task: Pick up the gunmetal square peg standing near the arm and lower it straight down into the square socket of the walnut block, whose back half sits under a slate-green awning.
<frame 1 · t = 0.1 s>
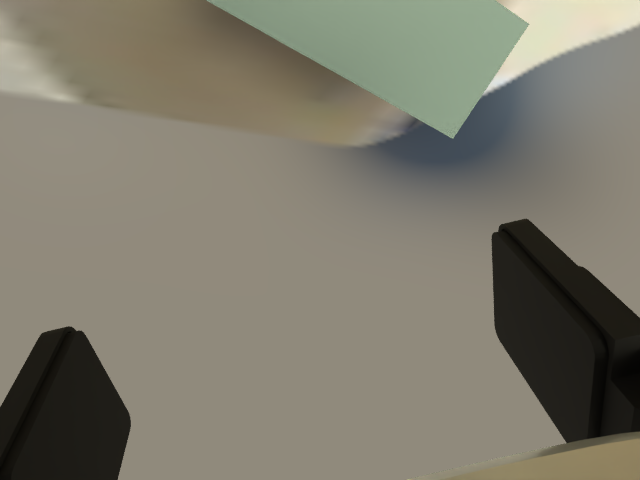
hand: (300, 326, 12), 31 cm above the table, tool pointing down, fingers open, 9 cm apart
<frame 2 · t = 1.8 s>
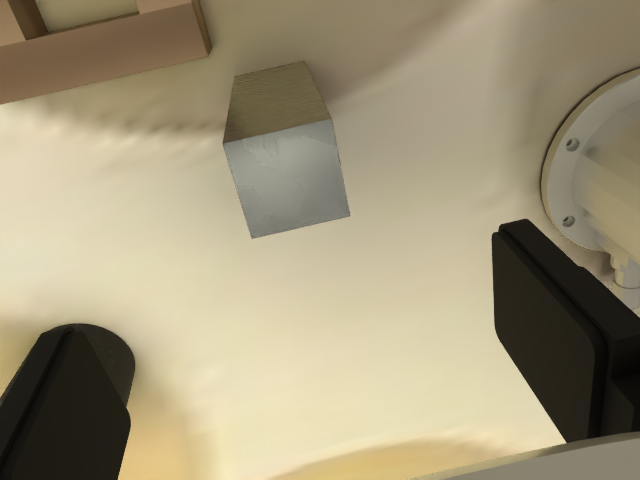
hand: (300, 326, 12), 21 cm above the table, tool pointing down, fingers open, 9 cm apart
peg: (277, 103, 30), on the table
travel mug: (85, 360, 37), on the table
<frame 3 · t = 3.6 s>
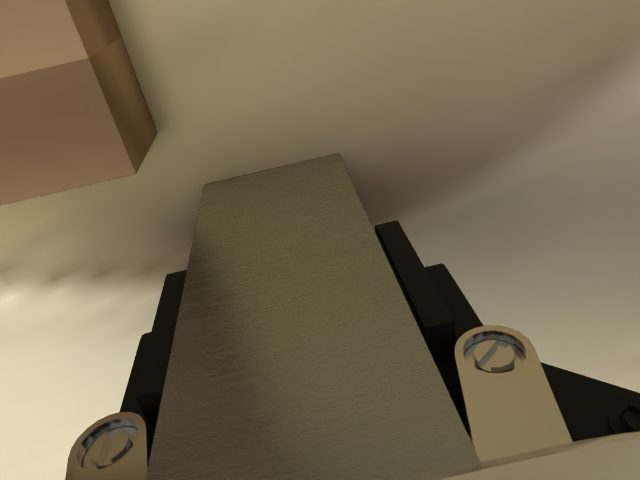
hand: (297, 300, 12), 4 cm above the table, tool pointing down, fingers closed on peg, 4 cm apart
peg: (287, 228, 16), on the table, touching gripper
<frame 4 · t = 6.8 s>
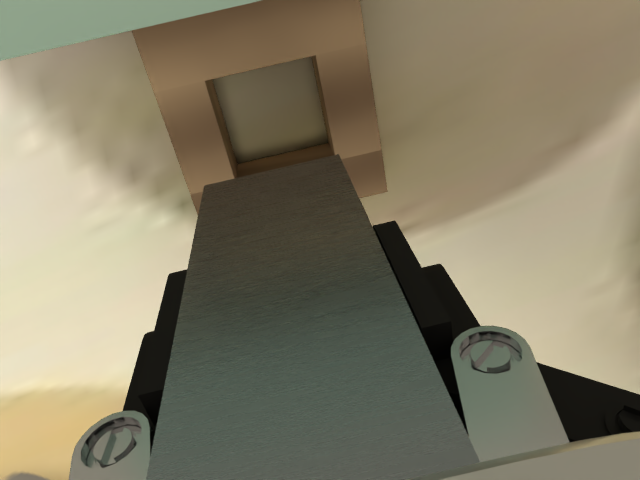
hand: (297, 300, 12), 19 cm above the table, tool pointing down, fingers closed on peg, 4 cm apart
peg: (287, 229, 16), point 15 cm above the table, touching gripper
socket block: (271, 107, 29), on the table
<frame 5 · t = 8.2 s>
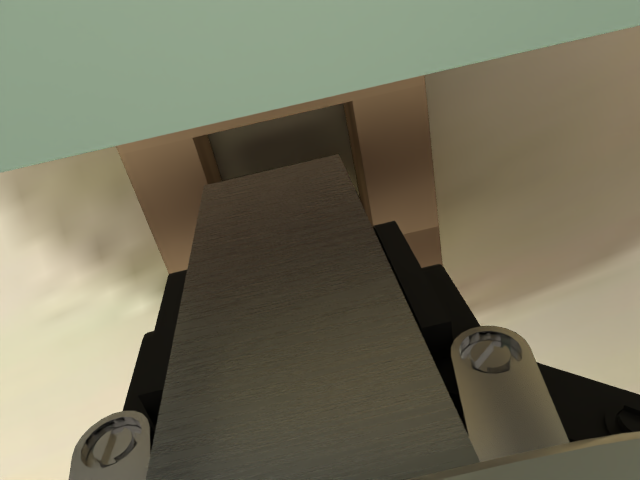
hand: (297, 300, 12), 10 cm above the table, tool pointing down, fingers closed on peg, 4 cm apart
peg: (287, 229, 16), point 6 cm above the table, touching gripper
socket block: (286, 164, 21), on the table
when the fingers open (4 cm above the table, at t = 9.6 s): peg stays where it is, resting in socket block.
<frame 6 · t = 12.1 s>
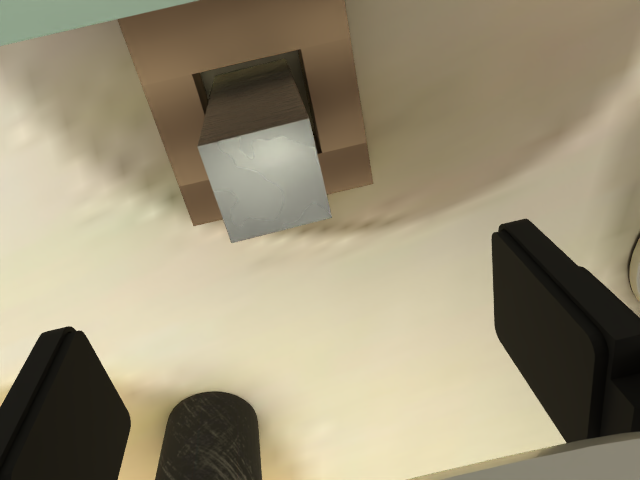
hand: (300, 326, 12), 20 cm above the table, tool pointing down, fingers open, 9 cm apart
peg: (259, 102, 29), resting in socket block
socket block: (259, 101, 29), on the table
travel mug: (213, 421, 41), on the table
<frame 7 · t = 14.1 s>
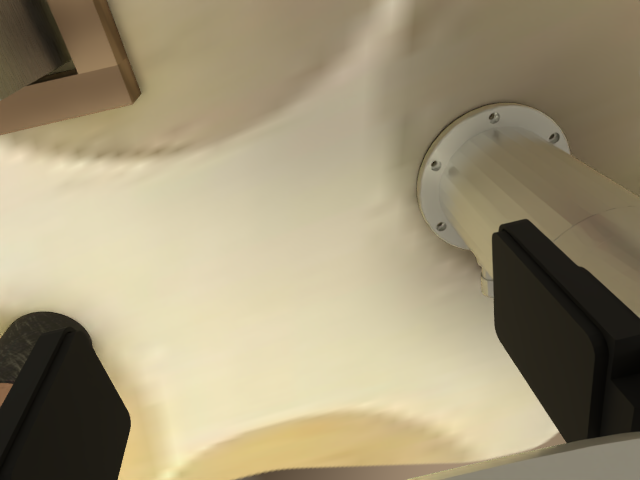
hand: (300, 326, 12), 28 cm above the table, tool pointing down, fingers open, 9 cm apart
peg: (33, 32, 33), resting in socket block
socket block: (32, 31, 33), on the table
travel mug: (50, 342, 45), on the table
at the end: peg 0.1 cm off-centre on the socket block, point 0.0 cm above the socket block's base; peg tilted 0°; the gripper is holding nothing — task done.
